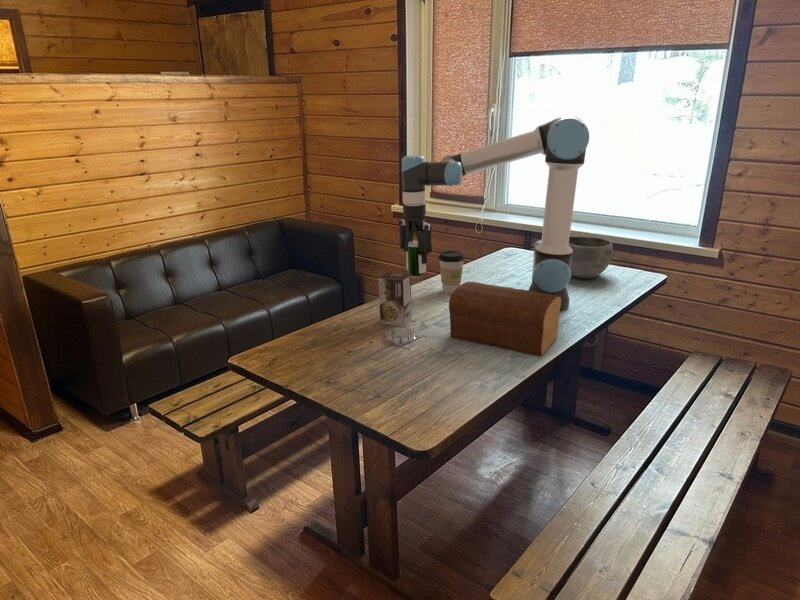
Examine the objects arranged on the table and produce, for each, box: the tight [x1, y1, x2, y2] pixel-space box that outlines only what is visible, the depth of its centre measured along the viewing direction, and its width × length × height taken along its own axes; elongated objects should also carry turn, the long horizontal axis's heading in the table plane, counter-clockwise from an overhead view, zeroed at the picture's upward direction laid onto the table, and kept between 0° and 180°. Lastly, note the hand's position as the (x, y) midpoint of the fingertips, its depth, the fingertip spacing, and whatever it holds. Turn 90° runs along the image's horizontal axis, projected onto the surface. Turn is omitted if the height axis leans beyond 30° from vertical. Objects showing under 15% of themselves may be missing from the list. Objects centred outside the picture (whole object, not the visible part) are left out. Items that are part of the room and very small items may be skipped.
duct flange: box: [380, 326, 422, 347], centre depth 181 cm, size 9×9×2 cm
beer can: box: [407, 239, 425, 279], centre depth 199 cm, size 5×5×12 cm
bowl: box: [569, 235, 614, 279], centre depth 235 cm, size 21×21×15 cm
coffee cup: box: [438, 250, 466, 295], centre depth 220 cm, size 10×10×15 cm
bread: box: [448, 281, 561, 357], centre depth 178 cm, size 18×30×16 cm, turn 59°
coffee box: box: [378, 272, 412, 327], centre depth 191 cm, size 9×6×16 cm
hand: (416, 270), depth 200 cm, fingers closed on beer can, 5 cm apart
